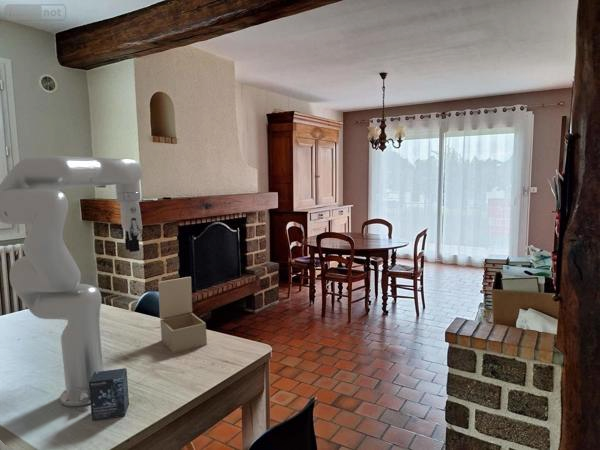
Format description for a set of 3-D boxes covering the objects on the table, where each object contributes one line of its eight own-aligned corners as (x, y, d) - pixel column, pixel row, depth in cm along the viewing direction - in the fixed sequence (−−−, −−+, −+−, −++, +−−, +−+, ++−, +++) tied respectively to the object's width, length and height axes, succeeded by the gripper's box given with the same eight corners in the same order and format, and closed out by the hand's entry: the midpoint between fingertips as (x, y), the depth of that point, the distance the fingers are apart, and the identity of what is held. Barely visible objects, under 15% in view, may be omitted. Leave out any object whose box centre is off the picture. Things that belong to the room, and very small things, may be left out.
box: (91, 421, 100) (88, 381, 99) (97, 409, 105) (94, 371, 104) (125, 417, 102) (122, 377, 100) (129, 404, 107) (126, 367, 106)
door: (191, 277, 152) (186, 273, 156) (158, 282, 145) (154, 278, 149) (192, 311, 154) (187, 307, 159) (160, 318, 147) (156, 313, 152)
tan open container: (206, 344, 144) (205, 323, 143) (173, 353, 137) (172, 331, 136) (193, 332, 156) (191, 312, 155) (161, 340, 149) (160, 319, 148)
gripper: (146, 198, 132) (150, 252, 134) (134, 196, 146) (138, 245, 148) (122, 199, 128) (126, 255, 130) (112, 197, 142) (116, 248, 144)
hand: (132, 249), depth 139 cm, fingers open, 4 cm apart
